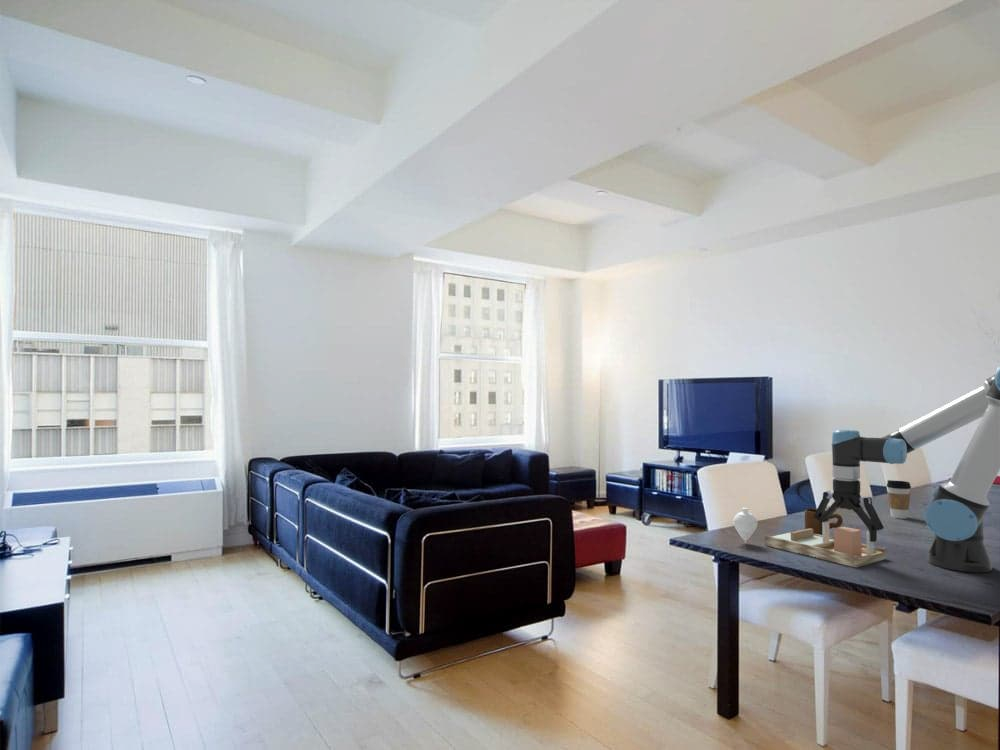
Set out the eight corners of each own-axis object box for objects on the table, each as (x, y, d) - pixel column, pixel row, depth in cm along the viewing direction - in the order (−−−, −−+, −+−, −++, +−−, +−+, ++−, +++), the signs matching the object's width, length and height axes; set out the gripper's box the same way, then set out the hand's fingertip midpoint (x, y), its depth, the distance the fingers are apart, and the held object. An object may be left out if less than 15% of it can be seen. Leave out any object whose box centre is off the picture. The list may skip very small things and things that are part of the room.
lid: (835, 541, 196) (835, 532, 196) (809, 548, 189) (809, 537, 189) (795, 533, 208) (795, 524, 208) (769, 538, 201) (769, 529, 201)
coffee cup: (882, 515, 248) (881, 479, 248) (900, 514, 249) (900, 479, 249) (897, 519, 239) (897, 482, 240) (916, 519, 240) (916, 482, 241)
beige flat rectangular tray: (885, 558, 184) (885, 548, 184) (856, 567, 175) (855, 556, 175) (794, 538, 210) (794, 529, 210) (764, 545, 201) (764, 535, 201)
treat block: (861, 555, 185) (861, 530, 185) (852, 558, 182) (851, 532, 182) (843, 551, 189) (843, 526, 190) (834, 554, 187) (833, 528, 187)
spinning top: (728, 541, 205) (728, 507, 206) (745, 539, 208) (745, 505, 209) (745, 547, 198) (744, 511, 199) (762, 544, 201) (762, 509, 201)
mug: (844, 538, 210) (844, 511, 210) (841, 542, 204) (840, 515, 204) (807, 533, 217) (807, 507, 217) (802, 537, 211) (802, 511, 211)
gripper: (895, 483, 178) (896, 554, 177) (814, 473, 199) (815, 536, 198) (882, 485, 174) (884, 558, 173) (801, 475, 195) (802, 539, 194)
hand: (847, 547), depth 186 cm, fingers open, 13 cm apart
